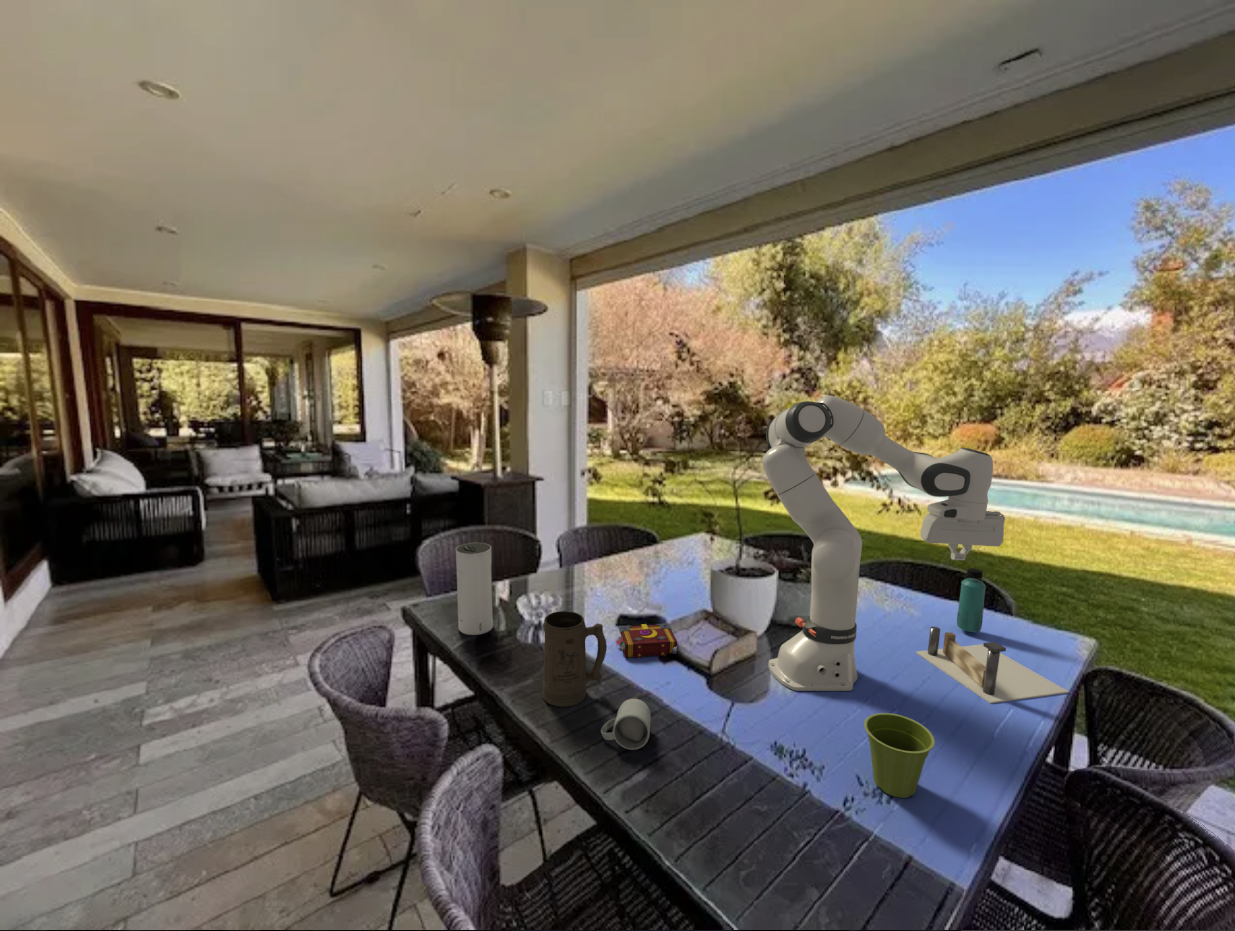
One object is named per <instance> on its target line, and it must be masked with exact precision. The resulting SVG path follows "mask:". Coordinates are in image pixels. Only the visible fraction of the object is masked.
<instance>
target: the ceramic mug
mask: <svg viewBox="0 0 1235 931" xmlns="http://www.w3.org/2000/svg"><path fill="white" fill-rule="evenodd" d="M616 714H617V715H616V717H613V718H611V719H609V720H608V721H606V722H605V723H604V724H603V725H602V727H601V728H600V733H601V736H602V738H603V740H605V741H612V740H613V741H615V742H616V743H617V744H618V745H619V746H620V747H621V748H624V749H626V750H631V751H634V750H635V751H636V750H639V749H641V748H643V747H644V746H645V745H646V744H647V743H648V741H649V738H650V733H651V732H650V731H651V721H652V720H651V716H652V715H651V711H650V707H649V706H648V705H647V703H646V702H644V700H641V699H639V698H629V699H626V700H624V701H623V702H622V703H621V705H620V706H619V708H618V711H617V713H616ZM612 727H613V728H612ZM610 728H612V732H608V730H609V729H610Z"/></svg>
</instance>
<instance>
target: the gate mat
mask: <svg viewBox="0 0 1235 931" xmlns="http://www.w3.org/2000/svg"><path fill="white" fill-rule="evenodd" d="M983 644H984V643H981V644H973V645H965V646H962V647H963V648H964V649H965V650H966V651H967V652H969V653H970V654H971V655H972V656H973V657H974V658H976V659H977V660H978V661H979V662H980V663H982V664H983V665H984V666H985V667H986V662H987V655H988V648H986V647H984V646H983ZM915 654H917V655H918V656H919V657H921V658H923V659H924V660H925V661H927V662H928V663H930V664H931V665H933V666H935V667H936V668H937V669H939V670H940V671H941V672H943V673H944V674H946V675H948V676H949V677H950V678H952V679H954V680H955V681H956V682H958V683H959V684H961V685H962V686H963V687H966V688H967V689H968V690H970V691H971V692H973V693H974V694H975V695H977V696H979V697H980V698H982V699H983V700H984V701H986V702H987V703H988V704H995V703H996V704H997V703H1004V702H1011V701H1019V700H1026V699H1032V698H1033V699H1034V698H1042V697H1048V696H1055V695H1063V694H1069V693H1070V691H1069V690H1067V689H1065V688H1063V687H1062V686H1061V685H1058V684H1057V683H1055V682H1053V681H1052V680H1049V679H1047V678H1046V677H1044V676H1042V675H1041V674H1039V673H1037V672H1035V671H1034V670H1031V669H1029V668H1028V667H1026V666H1025V665H1022V664H1021V663H1019V662H1017V661H1016V660H1013V659H1012V658H1011V657H1008V656H1007V655H1005V654H1003V653H1002V652H1000V657H999V664H998V672H997V679H996V687H995V694H994V695H988V694H986V693H984V692H983V687H981V686H980V685H979V684H978V683H977V682H976V681H974V680H973V679H972V678H971V677H970V676H969V675H968V674H967V673H966V672H965V671H963V670H962V669H961V668H960V667H959V666H958V665H957V664H956V663H955V662H954V661H952V660H951V659H950V658H949V657H948V656H947V655H945V654H944V653H943V648H938V655H937V656H932V655H929V654H928V649H927V650H919V651H918V650H917V651H915Z"/></svg>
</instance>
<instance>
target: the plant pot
mask: <svg viewBox="0 0 1235 931" xmlns="http://www.w3.org/2000/svg"><path fill="white" fill-rule="evenodd" d="M863 722H864V723H863V724H864V729H865V732H866V733H867V738H868V742H869V747H870V757H871V765H872V766H871V768H872V774H873V775H872V777H873V781H874V784H875V785H876V786H877V787H879V788H880V789H881V790H882V791H883V792H884V793H886V794H887V795H890V796H892V797H895V798H901V799H902V798H903V799H905V798H906V799H907V798H909V797H911V796H914V795H915V793H916V791H917V788H918V785H919V781H920V779H921V775H922V773H923V772H922V771H923V768H924V765H925V762H926V759H927V758H928V757H929V753H930V751H931V750H932V749H933V748H935V745H936V744H935V743H936V741H935V740H936V739H935V737H934V736H933V734H932V732H931V731H930V730H929V729H928V728H927V727H926V726H924V725H923V724H922V723H920V722H918V721H916V720H914V719H912V718H910V717H907V716H904V715H900V714H896V713H888V712H879V713H878V712H877V713H873V714H871V715H868V716H867V717H866V718H865V719H864V721H863Z"/></svg>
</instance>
